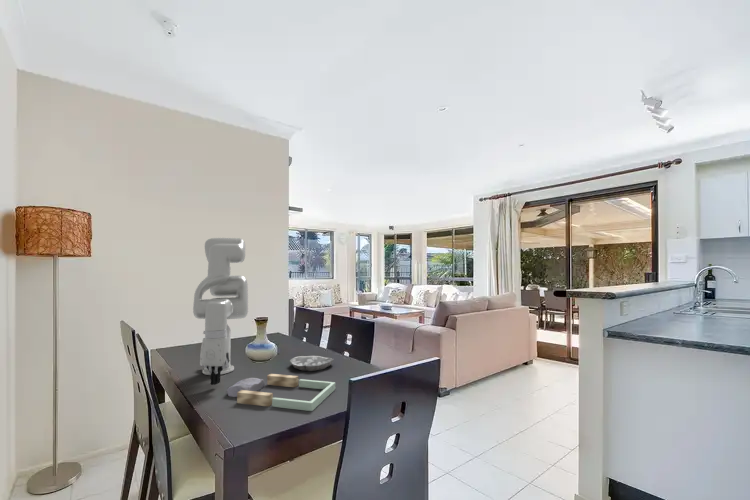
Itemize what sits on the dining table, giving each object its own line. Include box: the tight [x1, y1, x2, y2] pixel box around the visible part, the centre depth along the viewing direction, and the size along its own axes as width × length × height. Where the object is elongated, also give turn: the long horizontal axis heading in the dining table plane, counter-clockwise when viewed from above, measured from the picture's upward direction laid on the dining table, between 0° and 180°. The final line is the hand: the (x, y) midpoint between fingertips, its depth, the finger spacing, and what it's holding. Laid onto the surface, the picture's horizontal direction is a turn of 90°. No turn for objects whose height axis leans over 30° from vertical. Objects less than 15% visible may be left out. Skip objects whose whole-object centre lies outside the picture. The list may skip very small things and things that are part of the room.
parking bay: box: [271, 378, 336, 412], centre depth 126 cm, size 14×20×2 cm
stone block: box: [226, 377, 265, 398], centre depth 132 cm, size 12×5×10 cm
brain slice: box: [289, 355, 335, 372], centre depth 162 cm, size 20×17×3 cm
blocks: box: [236, 373, 300, 407], centre depth 129 cm, size 12×21×4 cm, turn 165°
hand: (215, 383), depth 135 cm, fingers closed
